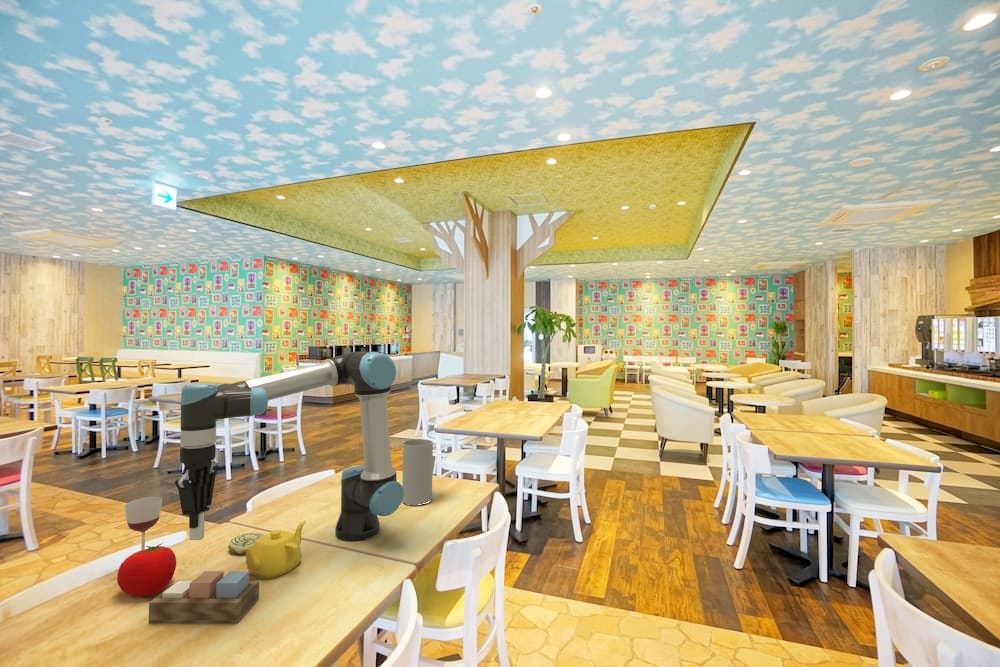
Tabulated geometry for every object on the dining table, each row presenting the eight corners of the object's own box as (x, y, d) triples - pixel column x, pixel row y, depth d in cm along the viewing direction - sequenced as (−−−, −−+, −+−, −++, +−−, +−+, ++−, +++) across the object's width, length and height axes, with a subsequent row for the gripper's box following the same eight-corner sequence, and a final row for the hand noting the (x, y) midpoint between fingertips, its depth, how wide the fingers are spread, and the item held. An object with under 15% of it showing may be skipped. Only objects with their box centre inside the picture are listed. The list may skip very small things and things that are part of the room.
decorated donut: (238, 560, 139) (238, 548, 139) (222, 550, 145) (222, 538, 145) (271, 547, 148) (271, 536, 148) (255, 539, 154) (255, 528, 154)
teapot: (262, 594, 121) (263, 553, 121) (225, 580, 127) (225, 542, 127) (325, 558, 141) (326, 523, 141) (290, 548, 147) (291, 515, 147)
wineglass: (167, 565, 135) (168, 498, 135) (135, 579, 127) (137, 508, 127) (148, 560, 138) (150, 495, 138) (116, 574, 129) (118, 504, 130)
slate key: (248, 590, 116) (249, 571, 116) (235, 603, 110) (236, 583, 110) (229, 590, 116) (230, 571, 116) (216, 603, 110) (216, 583, 110)
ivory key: (197, 600, 116) (197, 580, 116) (181, 613, 110) (182, 593, 110) (178, 600, 116) (178, 580, 116) (161, 613, 110) (162, 593, 110)
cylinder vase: (429, 506, 185) (430, 446, 186) (398, 506, 185) (400, 445, 186) (434, 496, 198) (434, 439, 198) (405, 495, 198) (406, 438, 198)
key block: (258, 599, 118) (259, 580, 118) (237, 623, 108) (237, 602, 108) (177, 599, 118) (178, 580, 118) (148, 623, 108) (149, 602, 108)
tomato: (131, 611, 112) (132, 564, 113) (109, 593, 120) (110, 550, 120) (186, 588, 123) (187, 546, 123) (163, 573, 130) (164, 534, 130)
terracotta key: (223, 590, 116) (223, 571, 116) (209, 603, 110) (209, 583, 110) (204, 590, 116) (204, 571, 116) (189, 603, 110) (189, 583, 110)
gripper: (200, 439, 120) (199, 527, 120) (164, 451, 107) (162, 551, 107) (228, 439, 120) (227, 528, 120) (195, 451, 107) (194, 551, 107)
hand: (196, 538), depth 113 cm, fingers closed
